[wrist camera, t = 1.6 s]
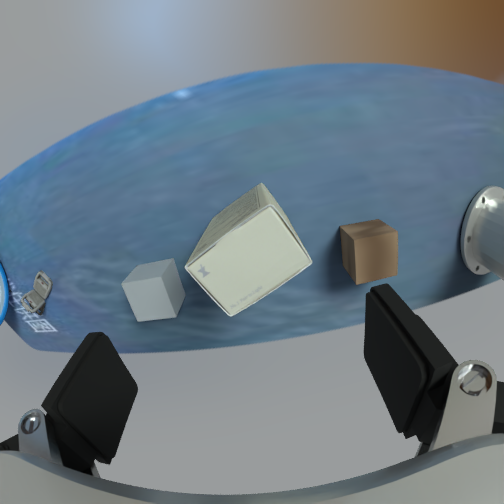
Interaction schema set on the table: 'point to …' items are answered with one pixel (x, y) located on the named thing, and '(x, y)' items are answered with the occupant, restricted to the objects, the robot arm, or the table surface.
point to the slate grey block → (154, 290)
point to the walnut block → (369, 250)
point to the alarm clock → (3, 294)
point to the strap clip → (38, 294)
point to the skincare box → (247, 252)
